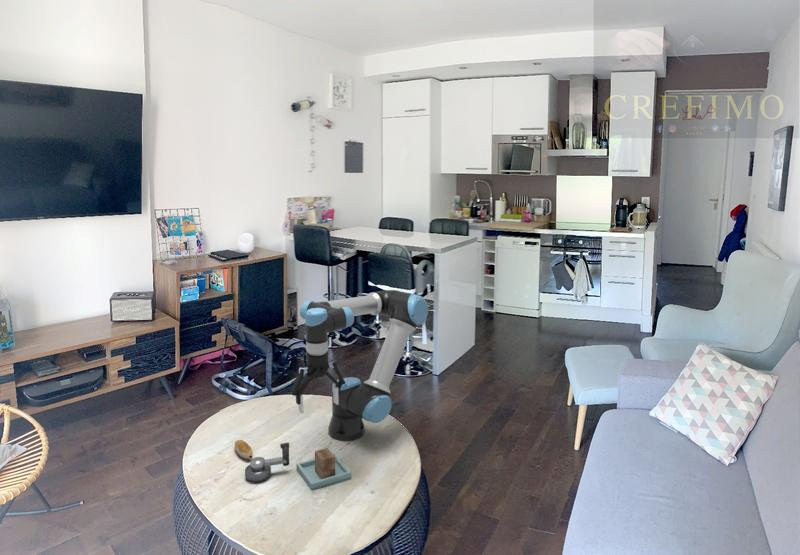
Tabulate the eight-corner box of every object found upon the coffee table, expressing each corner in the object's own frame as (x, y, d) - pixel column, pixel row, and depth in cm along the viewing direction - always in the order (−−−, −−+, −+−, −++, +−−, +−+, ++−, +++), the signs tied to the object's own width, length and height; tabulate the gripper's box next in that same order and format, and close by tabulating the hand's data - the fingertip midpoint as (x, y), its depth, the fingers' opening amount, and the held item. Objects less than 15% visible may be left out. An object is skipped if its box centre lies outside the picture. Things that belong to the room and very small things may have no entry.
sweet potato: (243, 464, 210) (242, 454, 209) (231, 448, 221) (231, 438, 221) (256, 460, 213) (256, 450, 212) (244, 445, 224) (244, 435, 223)
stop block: (327, 467, 207) (327, 447, 205) (335, 477, 201) (335, 456, 199) (315, 471, 205) (314, 451, 203) (322, 480, 199) (322, 460, 197)
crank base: (241, 471, 205) (240, 464, 204) (265, 465, 209) (265, 458, 209) (249, 486, 196) (248, 478, 195) (274, 479, 201) (274, 471, 200)
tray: (333, 459, 214) (333, 453, 214) (351, 478, 202) (350, 472, 201) (296, 469, 207) (296, 463, 206) (311, 490, 194) (311, 484, 194)
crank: (251, 473, 198) (250, 452, 197) (250, 466, 203) (249, 446, 201) (290, 467, 203) (290, 446, 201) (288, 460, 208) (287, 440, 206)
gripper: (344, 342, 208) (345, 396, 212) (279, 355, 195) (282, 411, 200) (353, 348, 201) (354, 403, 206) (287, 361, 189) (289, 419, 194)
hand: (318, 407), depth 203 cm, fingers open, 13 cm apart
